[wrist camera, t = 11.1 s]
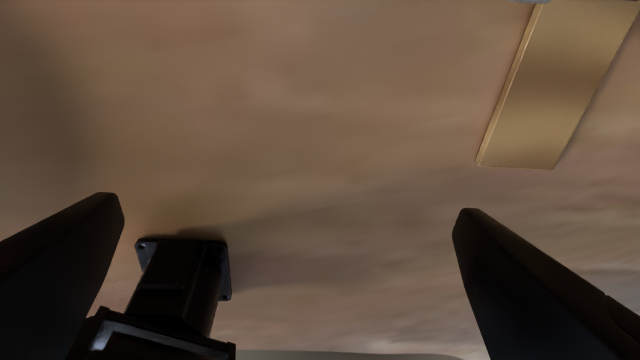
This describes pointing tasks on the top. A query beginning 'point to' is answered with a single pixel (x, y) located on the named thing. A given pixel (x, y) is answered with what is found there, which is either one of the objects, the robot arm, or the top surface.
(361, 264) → the top surface
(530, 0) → the lighter
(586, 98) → the strip
